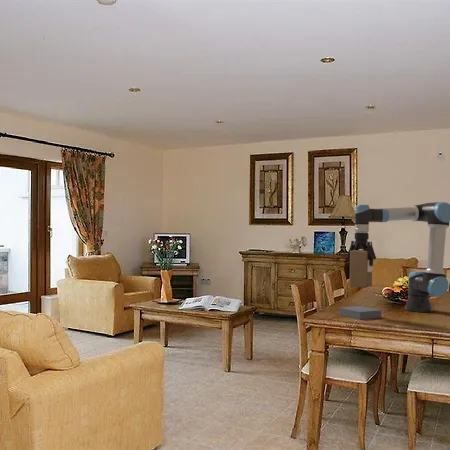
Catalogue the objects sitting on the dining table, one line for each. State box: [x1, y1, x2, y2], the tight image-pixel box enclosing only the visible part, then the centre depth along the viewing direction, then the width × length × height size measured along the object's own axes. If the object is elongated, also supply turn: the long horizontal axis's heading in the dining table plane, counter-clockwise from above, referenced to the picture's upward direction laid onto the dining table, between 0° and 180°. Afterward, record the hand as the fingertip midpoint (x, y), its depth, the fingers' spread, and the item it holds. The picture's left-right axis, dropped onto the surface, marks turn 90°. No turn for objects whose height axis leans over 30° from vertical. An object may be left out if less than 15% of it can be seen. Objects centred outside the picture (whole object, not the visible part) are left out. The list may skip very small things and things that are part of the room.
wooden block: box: [348, 249, 373, 289], centre depth 290 cm, size 10×10×20 cm
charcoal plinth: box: [338, 305, 383, 321], centre depth 290 cm, size 16×16×4 cm
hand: (360, 271), depth 290 cm, fingers closed on wooden block, 13 cm apart
